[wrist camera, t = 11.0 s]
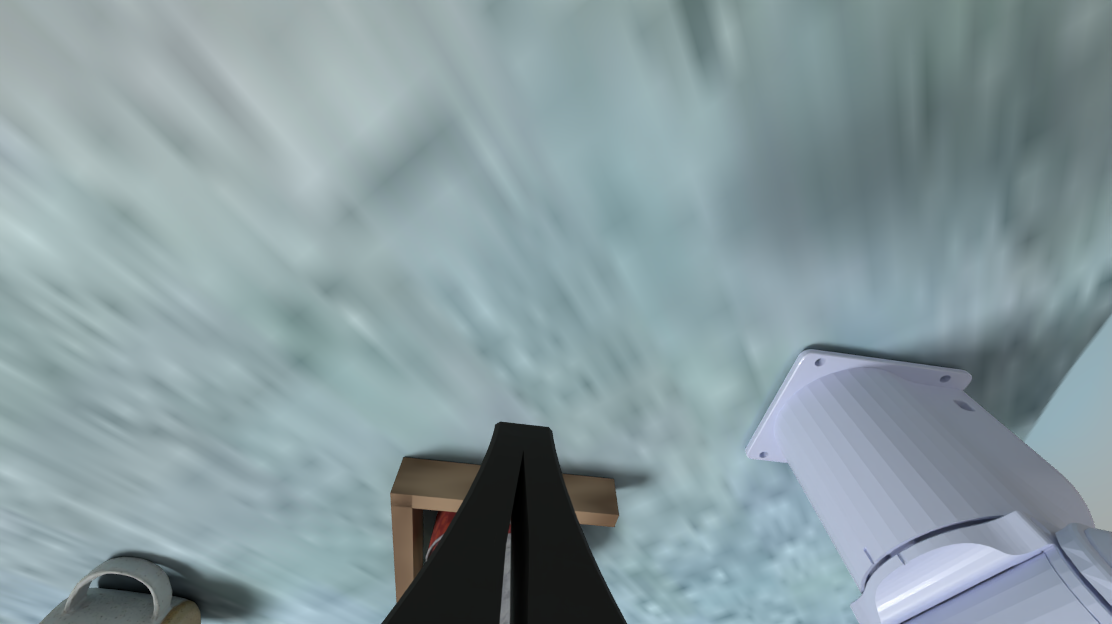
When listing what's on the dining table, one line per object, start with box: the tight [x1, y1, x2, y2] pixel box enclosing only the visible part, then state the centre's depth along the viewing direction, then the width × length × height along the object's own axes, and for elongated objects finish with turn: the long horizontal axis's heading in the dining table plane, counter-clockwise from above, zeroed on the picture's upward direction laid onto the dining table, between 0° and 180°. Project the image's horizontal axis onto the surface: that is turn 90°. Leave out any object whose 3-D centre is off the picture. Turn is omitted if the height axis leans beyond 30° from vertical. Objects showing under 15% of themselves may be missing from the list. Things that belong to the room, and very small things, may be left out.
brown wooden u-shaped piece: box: [390, 457, 619, 602], centre depth 30 cm, size 13×16×2 cm
